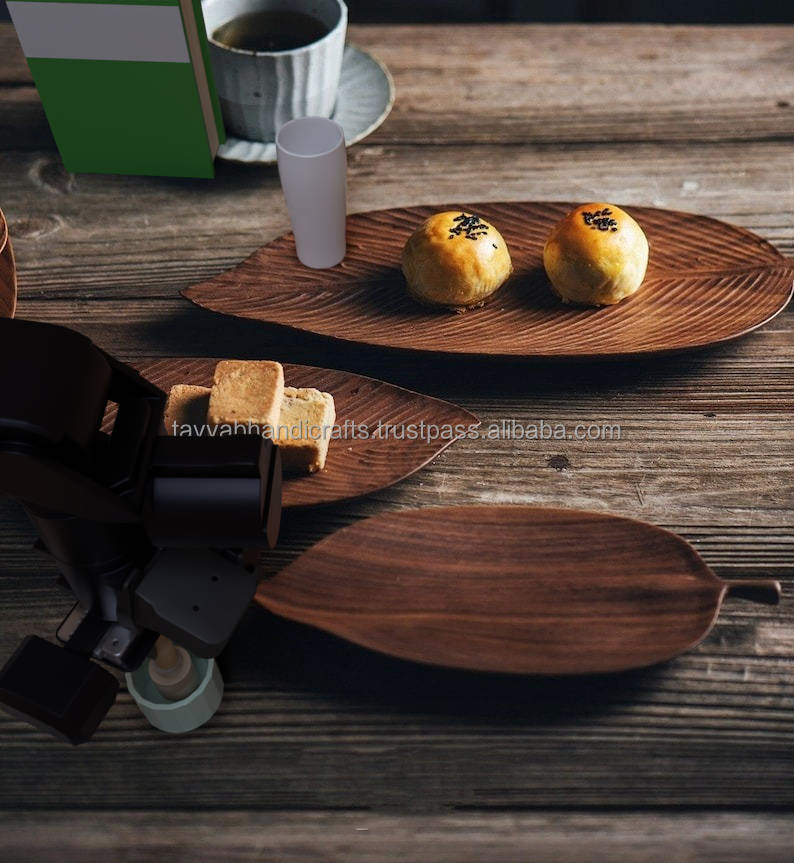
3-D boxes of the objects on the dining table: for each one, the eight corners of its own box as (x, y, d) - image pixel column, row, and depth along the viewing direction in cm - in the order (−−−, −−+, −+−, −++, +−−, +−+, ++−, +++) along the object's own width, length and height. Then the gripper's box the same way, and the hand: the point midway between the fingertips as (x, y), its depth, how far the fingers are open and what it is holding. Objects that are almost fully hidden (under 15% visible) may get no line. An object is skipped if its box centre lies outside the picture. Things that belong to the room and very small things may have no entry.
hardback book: (227, 143, 113) (189, -60, 94) (214, 181, 108) (172, -24, 89) (86, 138, 114) (20, -65, 95) (67, 175, 110) (-6, -29, 91)
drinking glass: (324, 226, 103) (312, 106, 91) (366, 255, 100) (359, 134, 88) (277, 255, 100) (259, 135, 88) (319, 286, 97) (306, 166, 85)
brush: (162, 707, 67) (128, 648, 59) (153, 670, 69) (119, 608, 61) (202, 692, 68) (174, 632, 60) (193, 656, 70) (164, 593, 62)
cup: (151, 747, 68) (134, 722, 64) (134, 672, 71) (118, 644, 68) (233, 717, 69) (222, 691, 65) (213, 645, 73) (201, 616, 69)
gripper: (120, 733, 44) (185, 825, 56) (305, 442, 54) (325, 574, 66) (-65, 644, 47) (35, 750, 59) (143, 385, 57) (192, 521, 69)
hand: (158, 643), depth 63 cm, fingers closed on brush, 2 cm apart
